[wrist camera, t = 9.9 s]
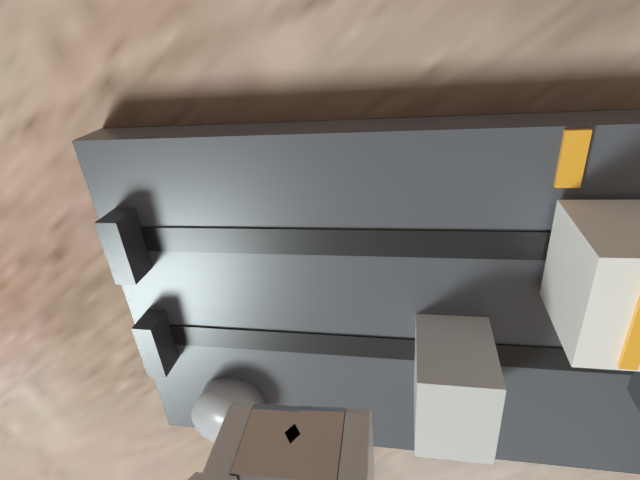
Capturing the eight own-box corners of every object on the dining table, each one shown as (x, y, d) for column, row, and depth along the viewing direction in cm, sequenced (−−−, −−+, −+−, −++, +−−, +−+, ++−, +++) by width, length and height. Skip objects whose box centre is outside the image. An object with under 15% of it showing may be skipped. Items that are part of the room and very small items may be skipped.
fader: (557, 199, 16) (601, 260, 12) (653, 199, 15) (730, 263, 11) (539, 293, 17) (573, 370, 14) (624, 296, 17) (682, 378, 13)
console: (101, 128, 20) (-8, 174, 15) (750, 105, 15) (927, 161, 10) (184, 398, 28) (132, 489, 23) (626, 438, 23) (689, 566, 18)
